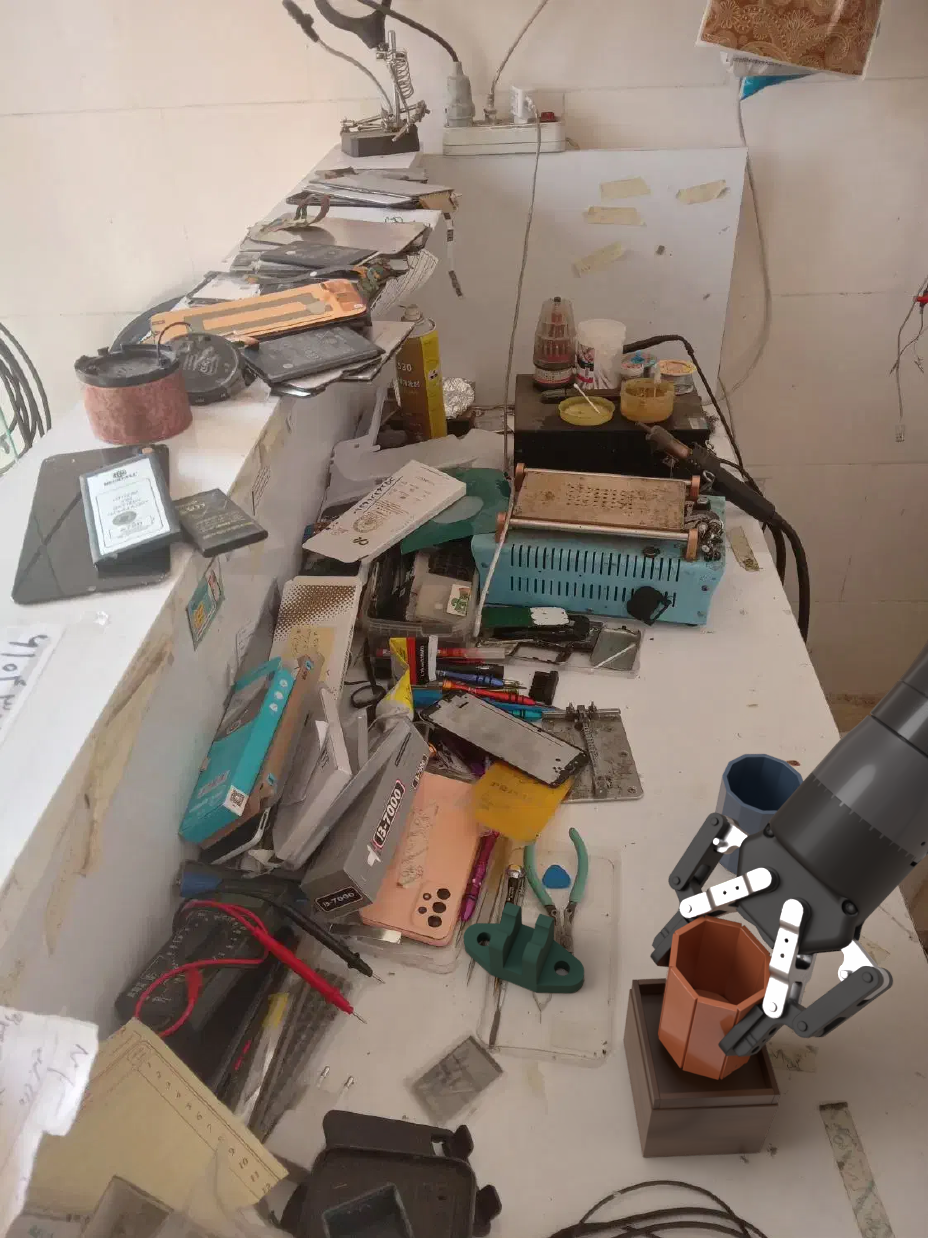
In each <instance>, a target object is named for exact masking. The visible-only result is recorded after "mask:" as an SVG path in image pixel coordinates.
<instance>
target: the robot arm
mask: <svg viewBox="0 0 928 1238" xmlns="http://www.w3.org/2000/svg"><path fill="white" fill-rule="evenodd" d="M737 848H739V857H738V866H737V875H736V874H735V875H736V876H735V878H731V879H729V880H727V881H724V882H721V883H719V884H716V885H713V886H710V887H708V888H707V889H706V890H705V891H703V887H704V886H705V884H706V882H707V881H708V879H709V878H710V876H711V875H712V874H713V872H714V870H715V869H716V867H717V866H718V864H720V862H719V861H720V859H721V858H722V856H723V855H724V854H731V853H732V852H733V851H734V850H735V849H737ZM926 856H928V639H926V642H925V644H924V645H923V647H922V648H921V650H920V651H919V653H918V654H917V656H916V657H915V659H914V660H913V661H912V663H910V665H909V667H908V668H906V670H905V671H904V673H902V675H901V676H900V677H899V678H898V680H896V682H895V683H894V684H893V685H892V686H891V688H890V689H888V691H887V692H885V694H884V695H883V696H882V698H881V699H880V700H879V701H878V702H877V703H876V705H875V706H874V707H873V708H872V709H871V710H870V711H869V714H866V715H865V717H864V718H863V719H862V720H861V721H859V722H858V724H857V725H855V726H854V727H853V728H852V729H850V730H849V731H848V732H846V734H845V735H844V736H842V738H840V740H838V741H837V742H836V744H835V745H833V747H832V748H831V749H830V750H829V751H828V752H827V754H826V755H825V756H824V757H823V758H822V760H820V761H819V763H818V764H817V765H816V766H815V768H814V769H813V770H812V771H811V772H810V773H809V774H808V775H807V776H806V778H805V779H803V782H802V783H801V785H800V786H799V787H798V788H797V789H796V790H795V791H794V793H793V794H792V795H791V796H790V797H789V798H788V799H787V801H786V802H785V803H784V804H783V805H782V806H781V807H780V809H779V810H778V811H777V812H776V813H775V814H774V815H773V817H772V818H771V819H770V820H769V822H768V824H767V825H766V827H765V828H764V829H762V830H761V831H759V832H757V833H755V834H751V835H749V834H748V833H746V832H745V831H744V830H742V829H741V828H740V827H739V823H738V822H737V820H735V819H733V818H730V817H727V816H725V815H722V814H719V813H716V812H715V811H714V812H712V813H710V814H708V815H707V817H706V818H705V820H704V821H703V823H702V825H701V826H700V828H698V831H697V832H696V833H695V835H694V837H693V839H692V840H691V842H690V843H689V845H688V846H687V848H686V849H685V851H684V853H683V854H682V856H680V859H679V860H678V862H677V863H676V865H675V867H674V868H673V870H672V871H671V873H670V874H669V876H668V879H667V880H668V885H669V887H670V888H671V889H672V890H674V892H675V895H676V896H677V898H678V901H679V902H678V903H679V905H678V909H677V911H676V913H674V914H673V916H672V917H671V918H670V919H669V920H668V922H666V923H665V925H664V926H663V927H662V929H660V931H659V932H658V933H656V936H655V937H653V941H652V944H651V946H652V948H653V949H654V950H653V951H652V952H651V953H650V956H649V957H650V959H651V960H652V961H653V962H654V964H655V965H656V967H661V968H662V967H664V968H668V962H669V956H670V950H671V943H672V937H673V934H674V933H675V931H676V930H678V929H680V928H681V927H683V926H685V925H687V924H688V923H690V922H692V921H694V920H696V919H697V918H699V917H701V916H704V918H705V915H707V916H712V917H716V918H720V917H723V916H725V915H729V914H734V913H738V914H739V915H740V916H741V917H742V918H743V920H745V921H746V922H748V923H749V924H751V925H753V926H754V927H755V928H756V930H757V932H758V933H759V936H760V937H761V939H762V941H764V942H765V944H766V945H767V946H768V947H769V948H770V949H771V950H772V953H771V956H772V957H771V961H770V964H769V972H770V978H769V982H768V985H767V989H766V993H765V997H764V1000H763V1004H755V1005H754V1007H753V1008H752V1009H751V1010H750V1011H749V1012H748V1013H747V1014H746V1015H745V1016H744V1017H743V1018H742V1019H741V1021H740V1022H739V1023H738V1024H736V1025H735V1026H734V1027H733V1028H732V1029H731V1030H730V1031H729V1032H728V1033H727V1035H726V1036H725V1037H724V1038H723V1039H722V1040H721V1041H720V1042H719V1044H718V1046H719V1047H720V1048H721V1050H722V1051H723V1052H724V1054H725V1055H726V1056H737V1055H738V1057H743V1056H751V1055H754V1054H756V1053H757V1052H758V1051H759V1050H760V1049H761V1048H762V1047H763V1046H764V1045H765V1044H766V1045H767V1043H768V1042H769V1041H770V1040H771V1039H772V1038H773V1037H774V1035H775V1034H777V1032H779V1030H780V1029H781V1028H782V1027H784V1026H786V1027H788V1028H789V1029H791V1030H792V1031H793V1032H794V1033H795V1034H796V1035H797V1037H800V1038H802V1039H809V1038H813V1037H814V1038H824V1037H826V1036H828V1035H829V1034H830V1033H832V1032H834V1030H836V1029H837V1028H838V1027H840V1026H841V1025H842V1024H844V1023H845V1022H846V1021H847V1020H849V1019H851V1018H852V1017H853V1016H854V1015H856V1014H857V1013H859V1012H860V1011H861V1010H862V1009H864V1008H865V1007H867V1006H868V1005H869V1004H870V1003H872V1002H874V1001H875V1000H876V999H877V998H879V997H880V996H882V995H883V994H884V993H886V992H887V991H888V990H889V989H891V988H892V987H893V984H894V978H893V975H892V973H891V972H890V971H889V970H888V969H887V968H884V967H881V966H880V965H878V963H877V962H876V961H875V960H874V959H873V958H872V956H871V955H870V954H869V952H868V951H867V950H866V949H865V948H864V946H863V945H862V943H860V939H861V933H862V929H863V926H864V924H865V922H866V920H867V919H868V918H869V917H870V916H871V915H872V914H873V913H874V912H875V911H876V910H877V908H878V907H880V906H881V905H882V903H883V902H884V901H885V900H886V899H887V898H888V897H889V896H890V895H891V894H892V893H893V891H894V890H895V889H896V888H897V887H898V886H899V885H900V884H901V883H902V882H903V881H904V880H905V879H906V877H907V876H908V875H909V874H910V873H911V872H912V871H913V870H914V869H915V868H916V867H917V866H918V865H919V864H920V862H921V861H922V860H923V859H924V858H925V857H926ZM834 952H841V953H842V954H843V962H842V964H841V965H840V966H839V967H838V969H837V976H838V979H839V981H840V982H839V983H837V984H835V986H834V987H832V988H831V989H829V990H828V991H827V992H826V993H824V994H823V995H821V996H820V997H819V998H817V999H816V1000H815V1001H814V1002H812V1003H811V1004H810V1005H808V1006H807V1007H805V1006H803V1005H802V1001H803V996H804V993H805V989H806V986H807V984H808V983H809V982H810V980H811V979H812V975H813V972H814V967H815V964H816V959H817V956H818V954H824V953H834Z"/></svg>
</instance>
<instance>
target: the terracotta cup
mask: <svg viewBox="0 0 928 1238" xmlns="http://www.w3.org/2000/svg"><path fill="white" fill-rule="evenodd" d="M771 957H772V955H771V952H770V951H769V949H767V948H766V947H765V945H764V944H762V942H761V941H760V940H759V939H758V937H756V935H754V933H752V931H751V930H750V928H748V927H747V926H746V925H745V924H744V925H743V923H742V922H739V921H734V920H729V919H726V918H725V919H724V918H720V917H717V918H716V917H712V916H707V915H705V918H704V916H701V917H699V918H697V919H696V920H694V921H692V922H690V923H688V924H687V925H685V926H683V927H681V928H680V929H678V930H676V931H675V933H674V934H673V937H672V943H671V950H670V956H669V962H668V967H666V975H665V978H666V980H665V986H664V993H663V999H662V1005H661V1013H660V1021H659V1029H658V1036H659V1039H660V1041H661V1042H662V1044H663V1045H664V1046H665V1048H666V1049H667V1050H668V1052H669V1053H670V1055H671V1056H672V1057H673V1059H674V1060H675V1062H676V1063H677V1064H678V1066H679V1067H680V1068H682V1067H683V1070H684V1071H688V1072H691V1073H695V1074H699V1075H702V1076H706V1077H710V1078H713V1079H717V1080H718V1079H719V1077H720V1079H723V1078H724V1077H726V1076H727V1075H729V1074H730V1073H732V1072H734V1071H735V1070H737V1069H738V1068H740V1067H741V1066H743V1065H744V1064H746V1063H747V1062H748V1060H749V1058H750V1056H743V1057H738V1055H737V1056H726V1055H725V1054H724V1052H723V1051H722V1050H721V1048H720V1047H719V1046H718V1044H719V1042H720V1041H721V1040H722V1039H723V1038H724V1037H725V1036H726V1035H727V1033H728V1032H729V1031H730V1030H731V1029H732V1028H733V1027H734V1026H735V1025H736V1024H738V1023H739V1022H740V1021H741V1019H742V1018H743V1017H744V1016H745V1015H746V1014H747V1013H748V1012H749V1011H750V1010H751V1009H752V1008H753V1007H754V1005H755V1004H763V1000H764V997H765V993H766V989H767V985H768V982H769V978H770V972H769V964H770V961H771Z"/></svg>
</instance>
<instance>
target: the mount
mask: <svg viewBox="0 0 928 1238" xmlns="http://www.w3.org/2000/svg"><path fill="white" fill-rule="evenodd" d="M522 909H523V907H522V906H520V905H517V904H516V903H515V904H514V903H512V902H510V901H507V902H506V903H505V905H504V907H503V910H502V913H501V919H500V922H498V923H497V922H496V923H494V922H491V923H490V922H477V923H473V924H471V925H469V926H468V927H467V928H466V929H465V930H464V933H463V945H464V946H463V947H464V950H465V952H466V953H467V955H468V956H469V957H471V959H472V960H474V961H475V962H476V963H477V964H478V965H480V967H481V968H483V970H485V971H486V972H487V973H488V974H489V975H491V976H492V977H496V978H497V979H500V980H503V981H505V982H508V983H511V984H513V985H516V986H518V987H520V988H523V989H526V990H529V991H531V992H533V993H537V994H542V993H543V994H573V993H576V992H578V991H579V990H580V989H581V988H582V986H583V985H584V982H585V968H584V965H583V963H582V962H581V960H580V959H578V957H576V956H575V955H574V954H572V952H570V951H569V950H567V949H566V948H565V947H564V946H563V945H561V944H560V943H559V942H558V941H556V940H555V918H554V917H552V916H549V915H546V914H543V913H539V914H538V916H537V918H536V921H535V923H534V927H532V926H529V925H526V924H523V915H522V914H523V913H522V912H523V911H522ZM484 940H485V941H489V943H488V945H481V944H479V943H480V942H482V941H484ZM559 969H563V970H566V971H567V974H565V975H560V974H559V973H557V970H559Z"/></svg>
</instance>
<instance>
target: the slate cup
mask: <svg viewBox="0 0 928 1238" xmlns="http://www.w3.org/2000/svg"><path fill="white" fill-rule="evenodd" d="M803 781H804V779H803V776H802V773H800V772H799V771H798V770H797V769H795V768H794V767H793V766H792V765H791V764H790V763H788V762H787V761H786V760H783V759H781V758H778V757H775V756H773V755H769V754H767V753H744V754H741V755H740V756H738V757H736V758H733V759H732V760H730V761H728V763H727V765H726V766H725V768H724V770H723V773H722V775H721V780H720V785H719V789H718V790H719V791H718V796H717V801H716V806H715V811H714V812H716V813H719V814H722V815H725V816H727V817H730V818H733V819H735V820H737V822H738V823H739V827H740V828H741V829H742V830H744V831H745V832H746V833H748V834H749V835H751V834H755V833H757V832H759V831H761V830H762V829H764V828H765V827H766V825H767V824H768V822H769V820H770V819H771V818H772V817H773V815H774V814H775V813H776V812H777V811H778V810H779V809H780V807H781V806H782V805H783V804H784V803H785V802H786V801H787V799H788V798H789V797H790V796H791V795H792V794H793V793H794V791H795V790H796V789H797V788H798V787H799V786H800V785H801V783H802V782H803ZM738 857H739V848H737V849H735V850H734V851H733V852H732V853H731V854H724V855H723V856H722V858H721V859H720V861H719V864H720V865H721V866H722V867H724V869H726V870H727V871H729V872H731V873H732V874H734V875H737V866H738Z"/></svg>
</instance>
